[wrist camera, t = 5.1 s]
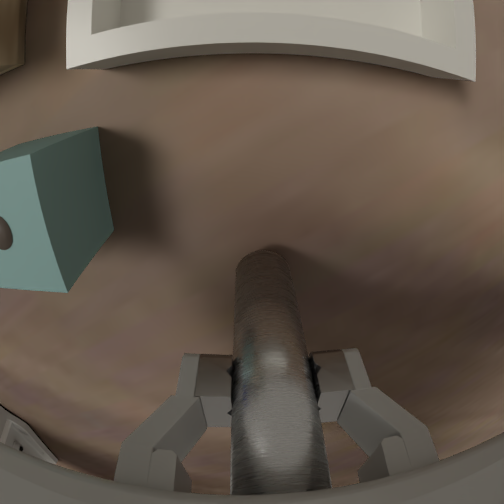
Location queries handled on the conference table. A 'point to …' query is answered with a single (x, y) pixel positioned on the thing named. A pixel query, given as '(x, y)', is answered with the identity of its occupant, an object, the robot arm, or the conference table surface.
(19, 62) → the beech block
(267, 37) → the tray
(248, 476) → the cylinder
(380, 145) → the conference table surface
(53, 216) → the teal cube
